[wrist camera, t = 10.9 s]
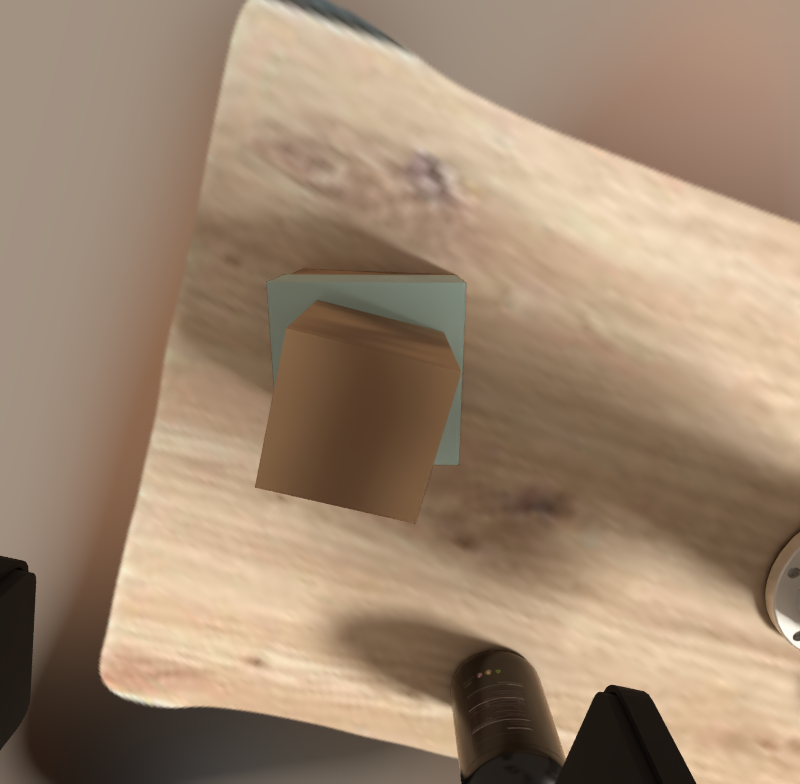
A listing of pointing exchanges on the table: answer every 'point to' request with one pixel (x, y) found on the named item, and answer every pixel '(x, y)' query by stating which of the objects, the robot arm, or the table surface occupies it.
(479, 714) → the supplement bottle
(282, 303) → the tower top slab
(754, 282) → the table surface
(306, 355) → the walnut block
